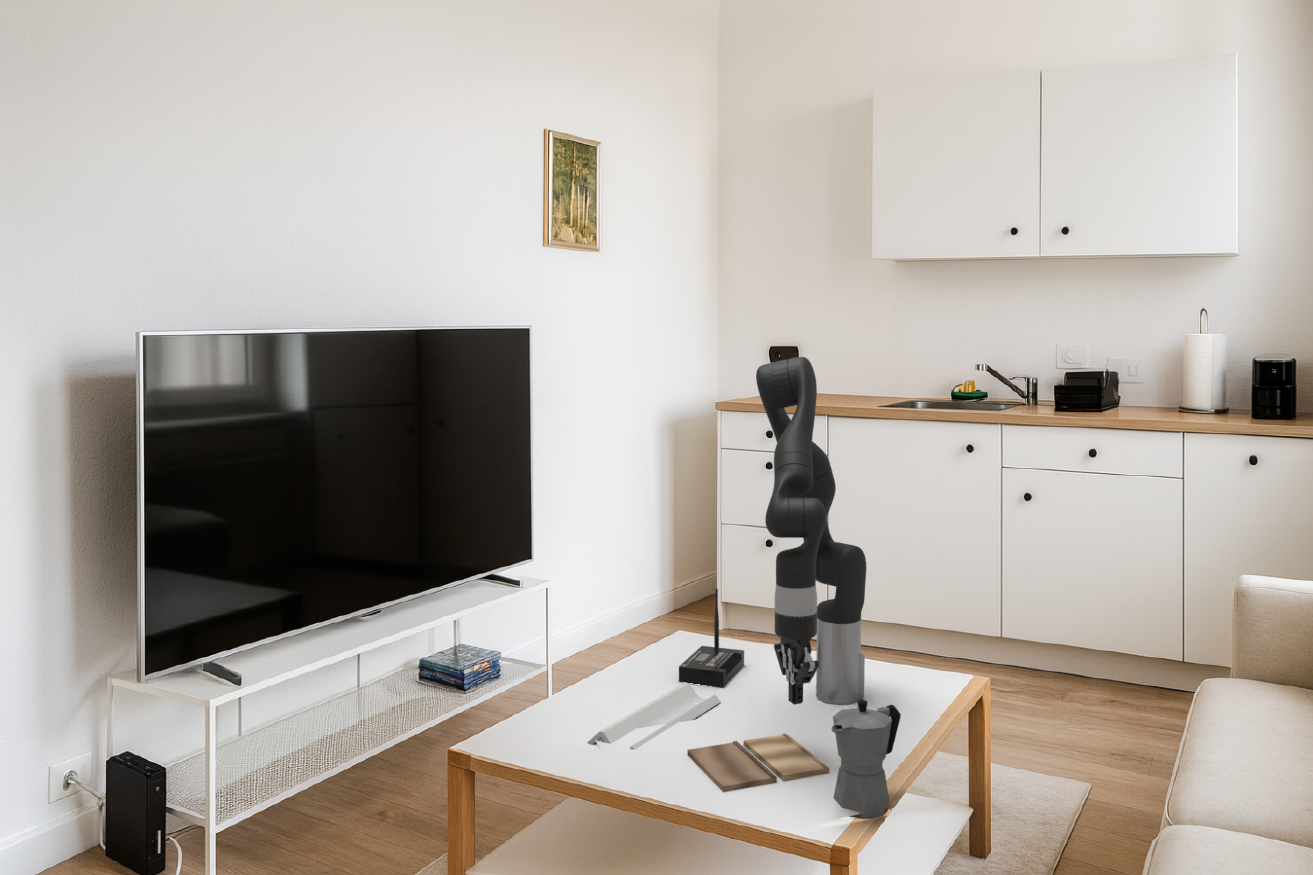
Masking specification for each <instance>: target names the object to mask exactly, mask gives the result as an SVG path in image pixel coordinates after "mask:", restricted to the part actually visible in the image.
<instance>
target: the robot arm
mask: <svg viewBox="0 0 1313 875" xmlns="http://www.w3.org/2000/svg"><path fill="white" fill-rule="evenodd" d="M755 378H756V380H755V381H756V386H757V391H758V394H759V396H760V399H761V403H762V406H763V407H764V411H765V413H766V416H767V419H768V422H769V424H770V426H771V429H772V431H773V435H774V438H775V441H776V445H775V448H774V451H773V452H774V453H773V471H774V472H773V477H774V479H773V480H774V481H773V488H772V494H771V497H770V499H769V503H768V505H767V509H766V512H765V513H766V514H765V527H766V530H767V531H768V532H769V534H770V535H772V536H773V537H774V538H778V539H780V538H781V539H782V538H783V539H785V538H786V539H788V538H789V539H790V538H793V539H796V538H797V539H799V538H800V539H801V538H802V539H803V542H802V544H800V545H799V546H797V547H793V548H788V549H784V550H781V551H780V552H778V553H777V555H776V557H775V558H776V559H775V591H774V633H775V635H776V636H778V637H779V638H780V642H779V643H774V644H773V648H774V652H775V656H776V658H777V661H778V665H779V666H778V667H779V670H780V672H781V675H782V676H785V678H786V679H785V680H786V682H787V683H788V684H787V686H788V691H787V692H788V701H789V703H791V704H792V705H801V704H802V703H803V702H804V684H810V683H811V681H812V680H813V678H814V676H815V674H816V676H815V677H816V681H815V684H816V685H815V689H816V690H815V692H816V694H815V696H816V698H817V699H818V700H820V701H822V702H824V703H829V704H834V705H849V704H853V703H856V702H857V701H858V700H864V699H865V670H866V669H865V663H866V660H865V659H866V658H865V654H864V653H862V651H861V650H862V613H863V607H864V604H865V599H866V598H865V595H866V594H865V593H866V584H867V582H866V579H867V558H866V555H865V552H864V550H863V549H862V548H861V547H859V546H857V545H854V544H850V543H843V542H837V541H834V539H833V537H832V535H831V532H830V528H829V523H828V515H829V512H830V509H831V507H832V504H833V501H834V500H835V499H834V498H835V496H836V489H837V488H836V480H835V477H834V473H833V469H832V466H831V462H830V460H829V457H828V455H827V454H826V452H825V451H824V450H823V449H822V448H821V447H820V446H818V444H816V443H815V442H814V441H813V434H814V426H815V420H816V419H815V417H816V406H817V393H818V387H817V378H816V374H815V370H814V367H813V364H812V363H811V361H810V359H808V357H805V356H796V357H791V358H787V359H782V360H779V361H773V362H769V363H765V364H762V365H760V366H758V368H757V369H756V373H755ZM794 406H796V408H795V411H794V413H793V415H792V417H791V418H790V416H789V414H788V412H786V409H785V408H790V407H794ZM817 582H818V583H820V584H823V585H826V586H832V587H835V594H834V598H832V599H826V600H823V601H820V602H819V603H818V595H817V594H818V593H817V584H816V583H817ZM815 636H816V659H815V660H814V659H813V658H812V655H811V654H812V646H811V640H812V639H813V638H815ZM857 703H858V702H857Z"/></svg>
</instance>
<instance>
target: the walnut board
mask: <svg viewBox="0 0 1313 875" xmlns="http://www.w3.org/2000/svg"><path fill="white" fill-rule="evenodd" d="M687 756H688V757H689V758H690V759H691V760H692V761H693V762H694V763H695V764H696V765H697V766H698V767H699V768H700V769H701V771H702V772H703V773H704V774H705V775H706V776H707V777H708V778H709V779H710V780H711V781H712V782H713V783H714V784H715V785H716V786H717V787H718V788H719V789H720V790H721V791H722V792H723V793H725V792H730V791H736V790H741V789H745V788H753V787H757V786H758V787H759V786H763V785H768V784H774V783H775V784H776V783H777V782H778V781H777V780H778V778H777V777H778V776H777V775H776V774H774V773H773V772H772V771H771V770H770V769H769V768H768V767H767V766H766V765H764V764H763V763H762V762H761V761H760V760H759V759H758V758H757V757H756V756H754V755H753V754H752V753H751V752H750V751H749V750H748V749H747V748H745V747H744V746H743V744H741V743H740V742H738V741H737V740H734V741H733V740H732V742H729V743H722V744H715V745H709V746H703V747H696V748H690V749H687Z"/></svg>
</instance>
